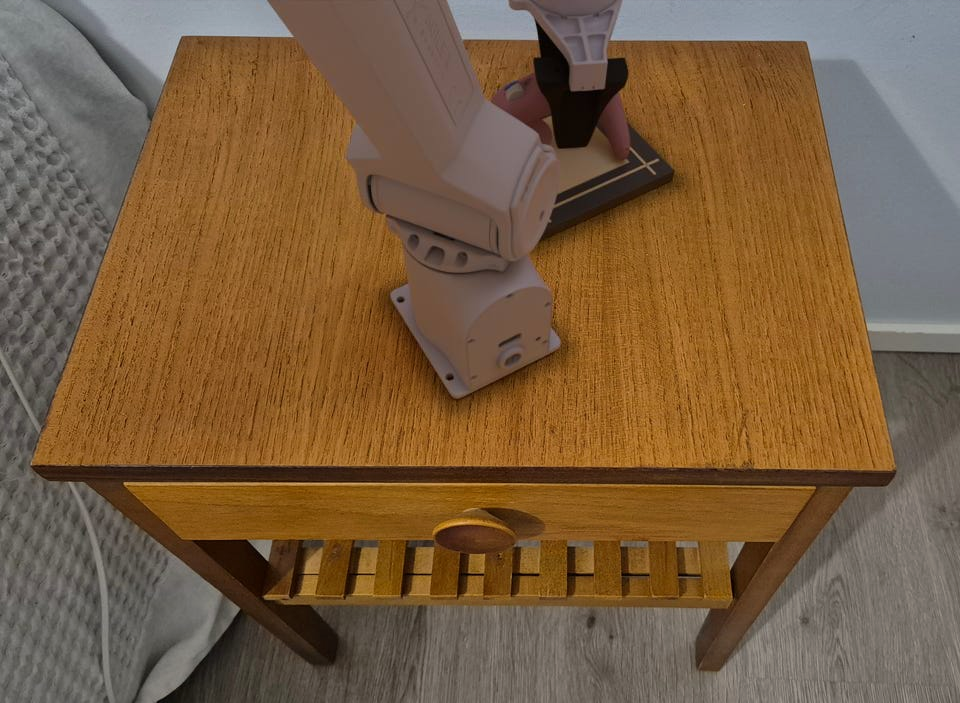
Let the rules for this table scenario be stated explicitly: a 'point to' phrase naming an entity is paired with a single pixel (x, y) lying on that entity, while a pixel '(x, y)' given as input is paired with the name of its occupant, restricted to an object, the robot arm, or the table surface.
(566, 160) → the board
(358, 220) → the table surface
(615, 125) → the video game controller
